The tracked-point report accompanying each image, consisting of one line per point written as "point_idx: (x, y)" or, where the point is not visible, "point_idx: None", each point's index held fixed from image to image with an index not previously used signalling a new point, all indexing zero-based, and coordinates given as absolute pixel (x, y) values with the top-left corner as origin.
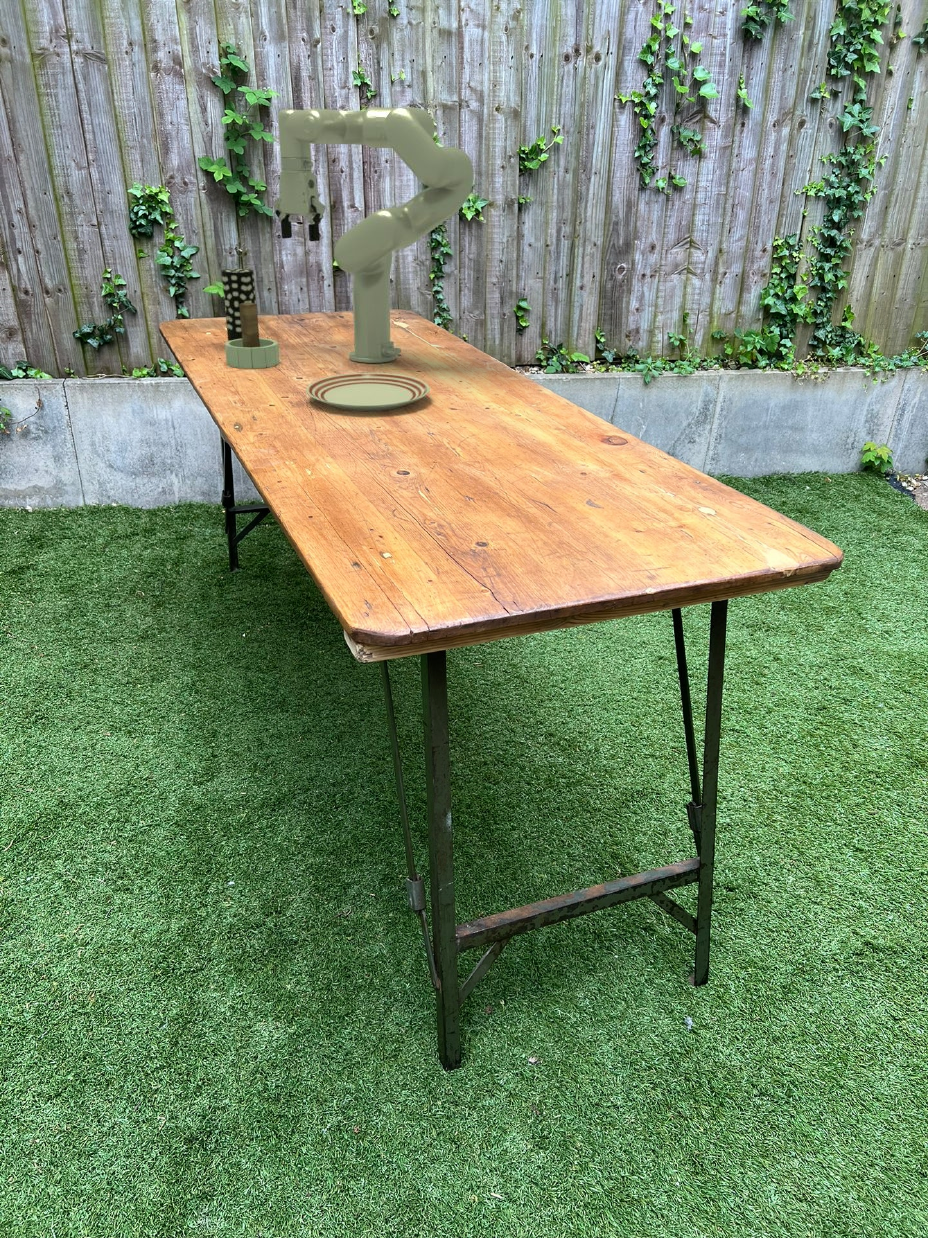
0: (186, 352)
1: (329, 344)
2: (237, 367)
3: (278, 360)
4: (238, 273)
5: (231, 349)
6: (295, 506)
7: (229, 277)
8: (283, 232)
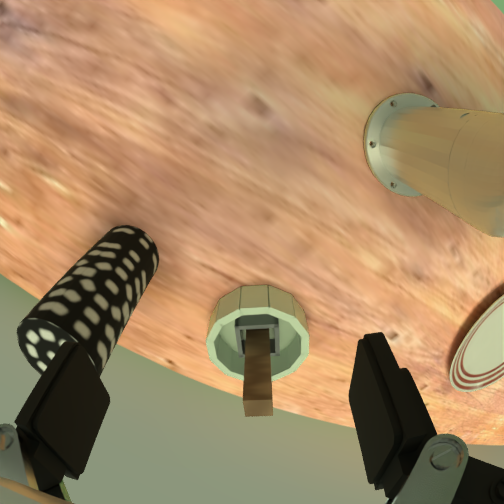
0: None
1: (225, 91)
2: None
3: (296, 303)
4: None
5: None
6: (497, 440)
7: None
8: (99, 424)
